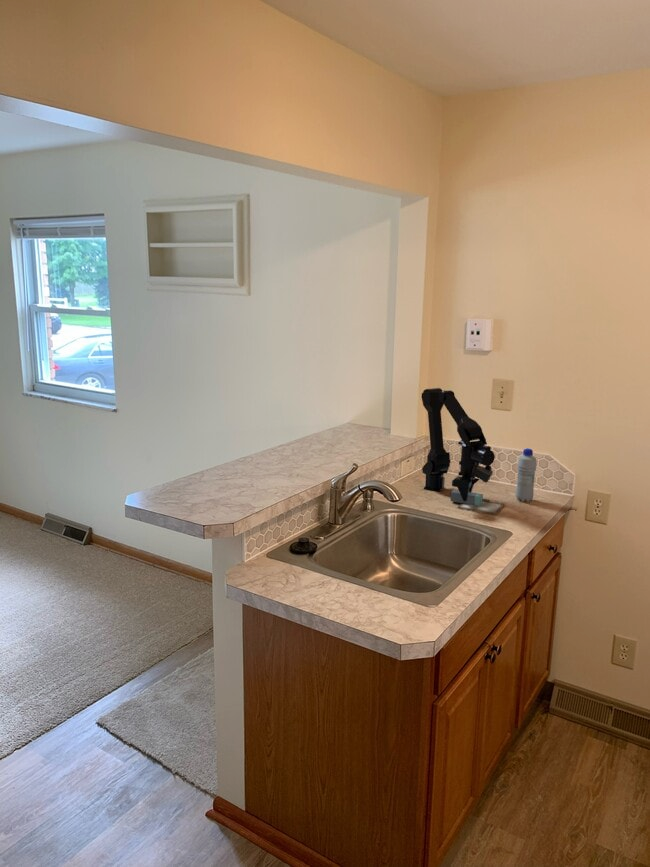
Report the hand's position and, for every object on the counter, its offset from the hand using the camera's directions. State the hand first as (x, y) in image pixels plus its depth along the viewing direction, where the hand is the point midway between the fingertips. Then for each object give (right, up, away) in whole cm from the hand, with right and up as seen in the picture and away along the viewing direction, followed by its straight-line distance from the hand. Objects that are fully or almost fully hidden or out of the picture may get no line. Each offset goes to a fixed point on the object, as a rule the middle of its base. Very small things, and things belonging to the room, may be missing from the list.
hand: (466, 499), depth 245 cm
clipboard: (+5, -2, -2) cm, 6 cm away
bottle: (+23, -1, +5) cm, 23 cm away
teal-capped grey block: (0, -1, 0) cm, 1 cm away
